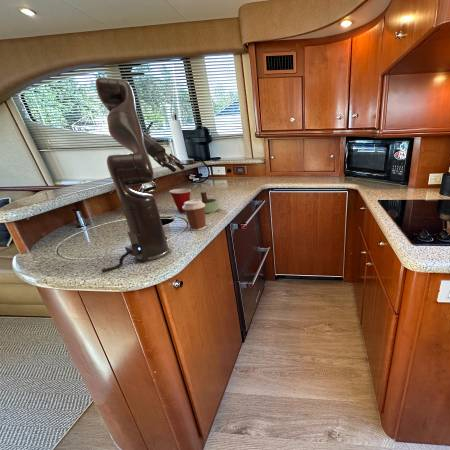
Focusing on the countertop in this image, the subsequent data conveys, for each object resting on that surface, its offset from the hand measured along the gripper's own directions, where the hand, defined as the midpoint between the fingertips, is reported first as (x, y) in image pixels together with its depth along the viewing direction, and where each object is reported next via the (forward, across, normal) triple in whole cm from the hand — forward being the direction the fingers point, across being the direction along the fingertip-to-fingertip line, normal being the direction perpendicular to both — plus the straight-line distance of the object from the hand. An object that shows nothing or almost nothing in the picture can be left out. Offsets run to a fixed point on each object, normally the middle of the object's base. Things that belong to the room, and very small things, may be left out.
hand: (179, 169), depth 123 cm
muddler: (+23, +1, +9) cm, 24 cm away
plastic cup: (+14, +3, +19) cm, 24 cm away
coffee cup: (+28, -26, +4) cm, 39 cm away
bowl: (+23, +1, +9) cm, 25 cm away
